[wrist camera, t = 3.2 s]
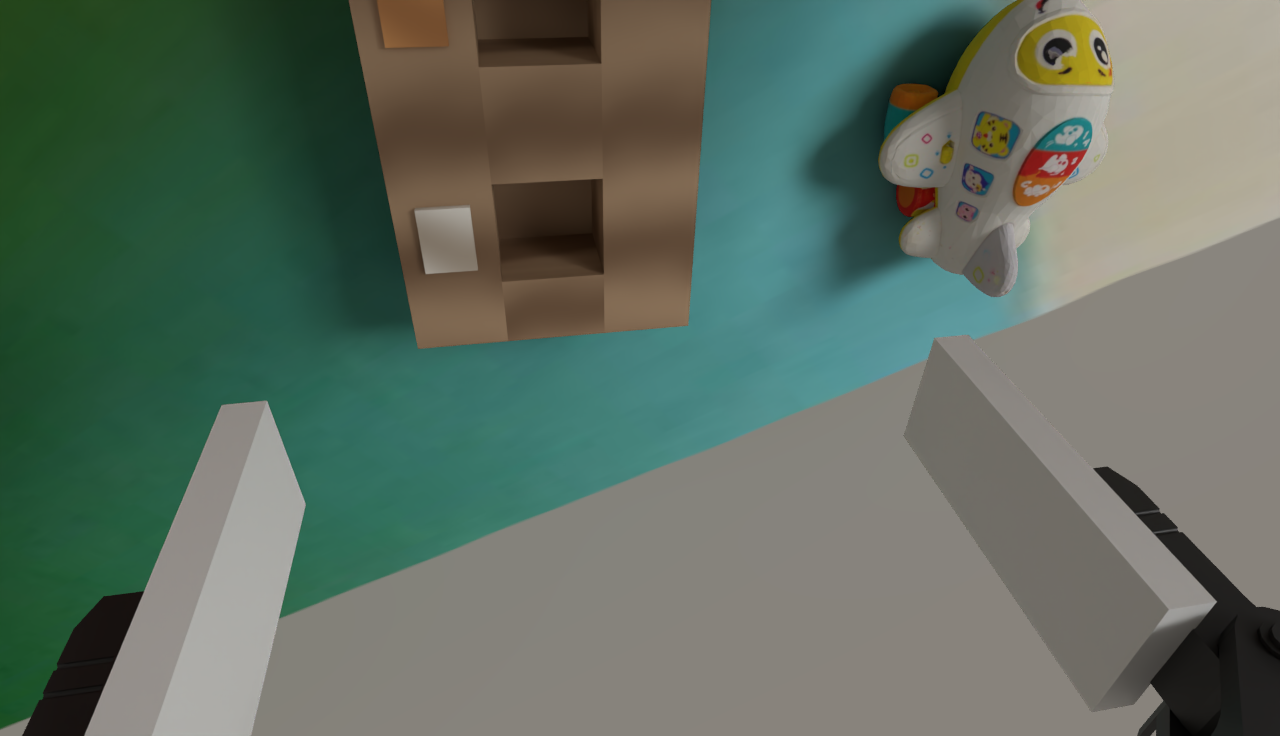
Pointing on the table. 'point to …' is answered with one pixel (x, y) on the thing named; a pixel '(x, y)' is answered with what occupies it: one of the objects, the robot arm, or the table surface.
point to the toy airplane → (999, 137)
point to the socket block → (538, 160)
